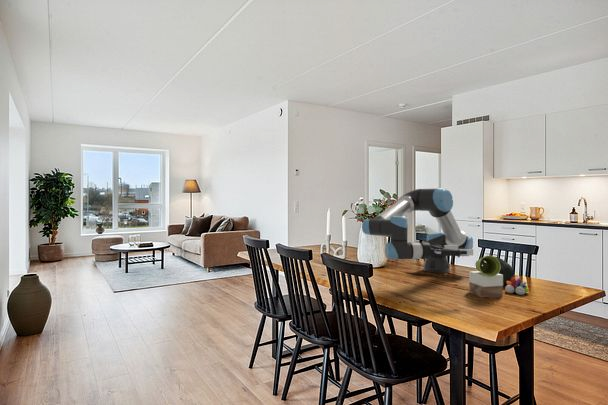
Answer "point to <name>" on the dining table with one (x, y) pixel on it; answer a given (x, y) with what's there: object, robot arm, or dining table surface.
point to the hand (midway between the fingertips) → (465, 249)
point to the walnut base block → (485, 290)
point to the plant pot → (488, 266)
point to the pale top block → (485, 279)
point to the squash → (505, 271)
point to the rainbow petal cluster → (516, 286)
